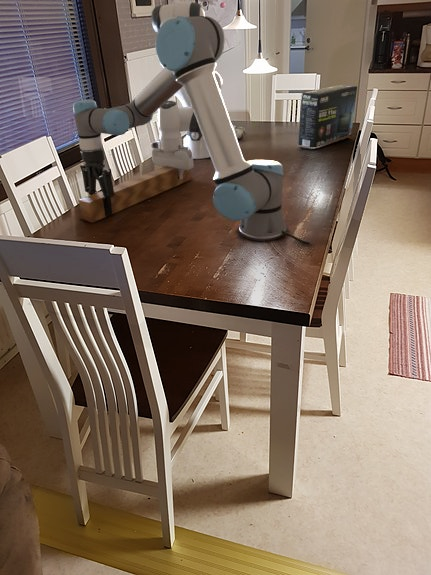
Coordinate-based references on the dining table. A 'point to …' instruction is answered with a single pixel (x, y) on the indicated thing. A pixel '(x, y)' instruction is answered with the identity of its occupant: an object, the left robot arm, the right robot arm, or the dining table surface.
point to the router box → (326, 115)
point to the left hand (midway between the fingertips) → (173, 177)
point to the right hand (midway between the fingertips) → (103, 212)
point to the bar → (132, 192)
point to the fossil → (238, 131)
